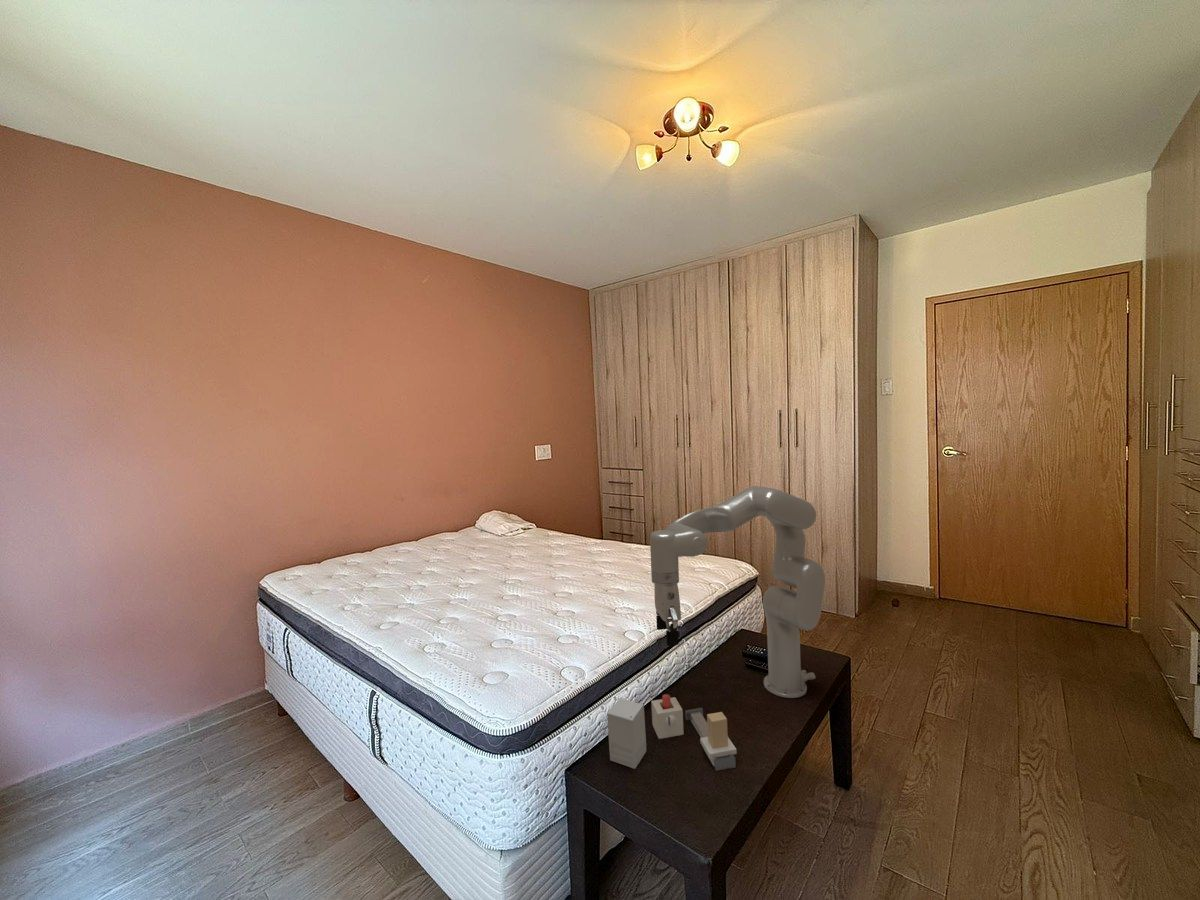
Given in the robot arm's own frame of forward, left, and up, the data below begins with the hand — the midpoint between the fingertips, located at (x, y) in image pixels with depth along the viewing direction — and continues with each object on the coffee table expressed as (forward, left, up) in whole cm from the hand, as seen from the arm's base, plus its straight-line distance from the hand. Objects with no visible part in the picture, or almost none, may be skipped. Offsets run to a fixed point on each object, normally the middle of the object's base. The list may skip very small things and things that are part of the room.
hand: (667, 636), depth 127 cm
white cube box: (+1, +1, -26) cm, 26 cm away
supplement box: (+14, +8, -26) cm, 31 cm away
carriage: (-8, +14, -26) cm, 30 cm away
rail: (-8, +8, -26) cm, 28 cm away
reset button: (+1, +1, -21) cm, 21 cm away
